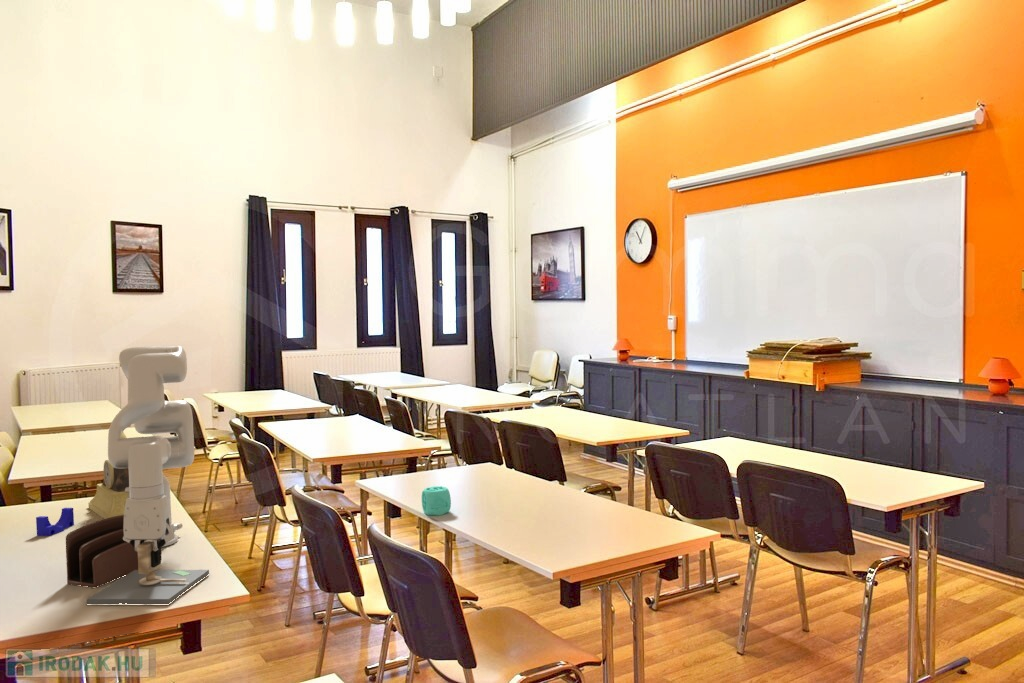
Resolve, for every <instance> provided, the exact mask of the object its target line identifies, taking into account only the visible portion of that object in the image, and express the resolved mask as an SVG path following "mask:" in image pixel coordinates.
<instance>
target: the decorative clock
mask: <svg viewBox="0 0 1024 683" xmlns="http://www.w3.org/2000/svg"><path fill="white" fill-rule="evenodd" d="M123 438H127V436H126V434H125V433H124V431H123V432H122V434H121V437H120V439H123ZM102 470H103V480H102V482H101V483H97V484H96V492H95V495H94V496H93V498H92V499H91V500H90V501H89V502H87V503H88V508H89V509H90V510H91V511H93V512H94V513H95V514H96V515H98V516H99V517H100V518H102V520H103V519H106V518H110V517H115V516H120V515H124V510H125V504H126V500H127V499H128V498H130V496H129V493H126V492H125V488H126V487H129V468H121V469H119V468H114V467H113V466H111V464H110V462H109V459H107V460H104V462H103V469H102Z"/></svg>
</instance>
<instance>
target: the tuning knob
mask: <svg viewBox="0 0 1024 683" xmlns="http://www.w3.org/2000/svg"><path fill="white" fill-rule="evenodd" d="M137 549H138V572H139V574H146V577H145V578H142V579H141V580H139V584H140V585H153V584H156V583H159V582H186V581H187V580H186V579H162V577H161V576H155V570H158V568H160V567H161V566H162V562H161V563H160V564H159V565H158V566H156V567H151V552H152V551H153V547H152V540H146V541H145V542H143V543H141V544H139V545H137Z"/></svg>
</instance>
